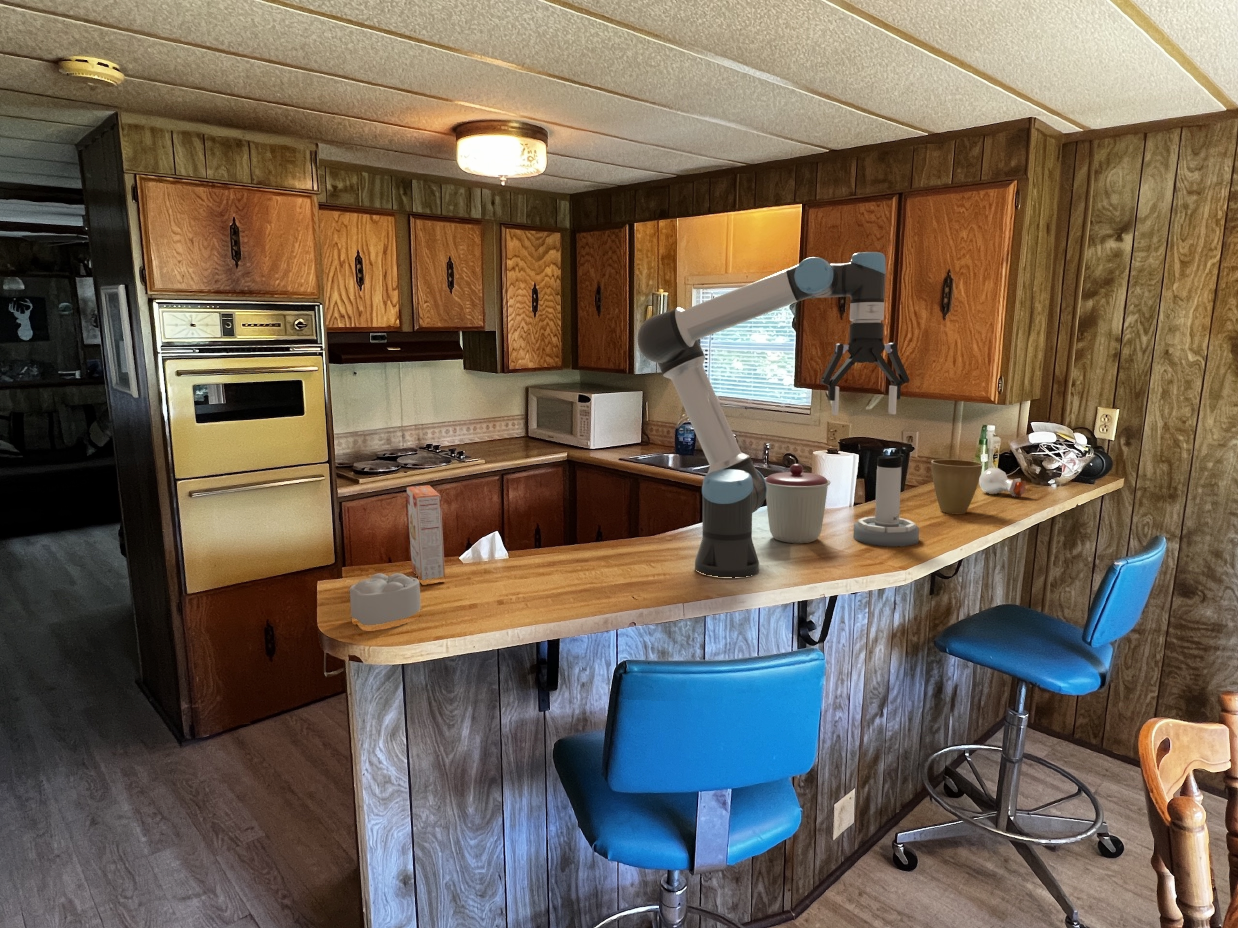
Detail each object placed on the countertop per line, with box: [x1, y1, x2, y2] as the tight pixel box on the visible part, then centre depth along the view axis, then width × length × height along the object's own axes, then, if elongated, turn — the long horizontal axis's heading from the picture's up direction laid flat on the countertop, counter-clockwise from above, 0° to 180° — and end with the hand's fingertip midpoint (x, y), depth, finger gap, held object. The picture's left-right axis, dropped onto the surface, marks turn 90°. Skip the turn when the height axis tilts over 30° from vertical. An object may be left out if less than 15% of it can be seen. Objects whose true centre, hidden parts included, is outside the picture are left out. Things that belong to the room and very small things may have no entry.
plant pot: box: [930, 459, 984, 515], centre depth 244 cm, size 15×15×16 cm
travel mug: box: [874, 453, 904, 527], centre depth 209 cm, size 6×7×20 cm
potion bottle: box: [978, 467, 1026, 498], centre depth 271 cm, size 9×10×15 cm
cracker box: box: [406, 484, 446, 580], centre depth 180 cm, size 14×6×21 cm, turn 23°
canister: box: [764, 463, 831, 544], centre depth 211 cm, size 18×18×21 cm
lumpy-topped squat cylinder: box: [349, 572, 422, 625], centre depth 152 cm, size 10×13×9 cm
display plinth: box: [852, 516, 920, 548], centre depth 211 cm, size 17×17×5 cm
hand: (863, 414), depth 180 cm, fingers open, 13 cm apart
